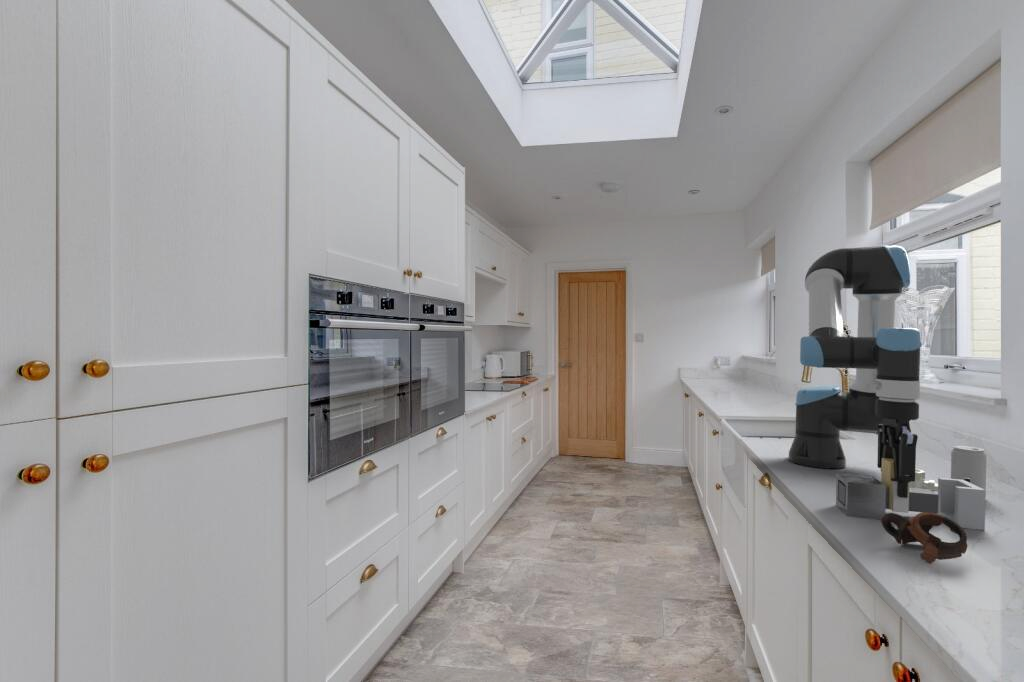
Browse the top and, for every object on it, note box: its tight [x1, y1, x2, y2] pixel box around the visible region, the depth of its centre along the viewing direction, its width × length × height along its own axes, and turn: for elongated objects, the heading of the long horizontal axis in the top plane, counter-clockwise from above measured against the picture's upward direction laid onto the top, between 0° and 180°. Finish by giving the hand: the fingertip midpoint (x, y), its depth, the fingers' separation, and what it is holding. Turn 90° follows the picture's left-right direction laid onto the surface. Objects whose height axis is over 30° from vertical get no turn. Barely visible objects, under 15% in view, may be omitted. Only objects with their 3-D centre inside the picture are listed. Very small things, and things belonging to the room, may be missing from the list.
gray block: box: [835, 472, 886, 520], centre depth 112 cm, size 7×7×7 cm
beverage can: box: [950, 445, 987, 498], centre depth 125 cm, size 6×6×12 cm
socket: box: [937, 477, 987, 531], centre depth 107 cm, size 8×4×8 cm, turn 164°
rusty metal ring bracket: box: [880, 512, 969, 564], centre depth 91 cm, size 12×10×8 cm
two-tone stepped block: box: [838, 458, 939, 514], centre depth 110 cm, size 4×17×10 cm, turn 74°
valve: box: [909, 468, 970, 493], centre depth 121 cm, size 7×7×12 cm
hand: (894, 507), depth 110 cm, fingers closed on two-tone stepped block, 4 cm apart
